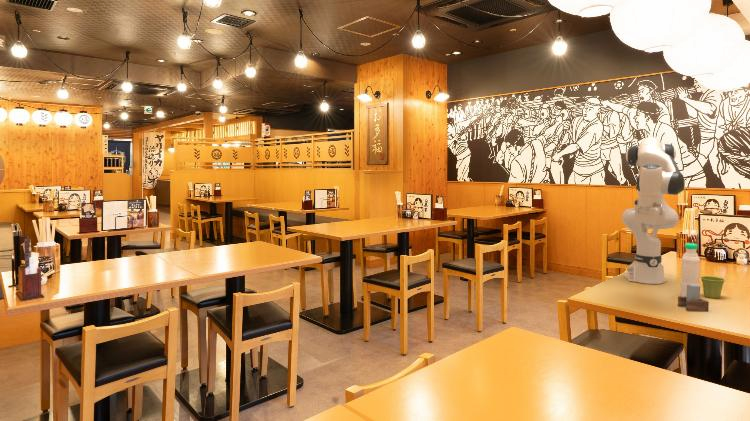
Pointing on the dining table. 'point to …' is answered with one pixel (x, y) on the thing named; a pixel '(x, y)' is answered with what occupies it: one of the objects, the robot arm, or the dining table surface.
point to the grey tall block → (693, 292)
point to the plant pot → (712, 286)
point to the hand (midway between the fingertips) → (649, 234)
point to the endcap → (693, 304)
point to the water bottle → (689, 268)
